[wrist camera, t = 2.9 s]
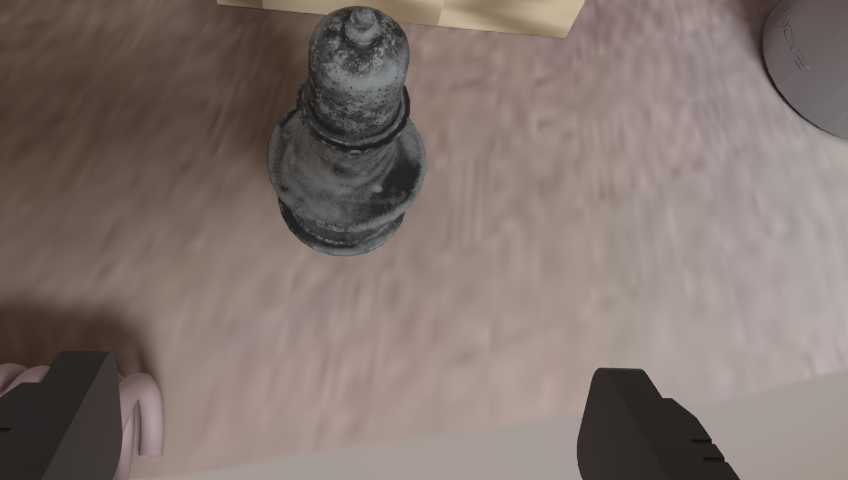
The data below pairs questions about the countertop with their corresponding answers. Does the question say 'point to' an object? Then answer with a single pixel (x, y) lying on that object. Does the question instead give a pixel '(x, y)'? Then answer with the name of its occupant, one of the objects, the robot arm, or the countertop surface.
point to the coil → (130, 392)
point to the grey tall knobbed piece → (349, 137)
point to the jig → (450, 12)
